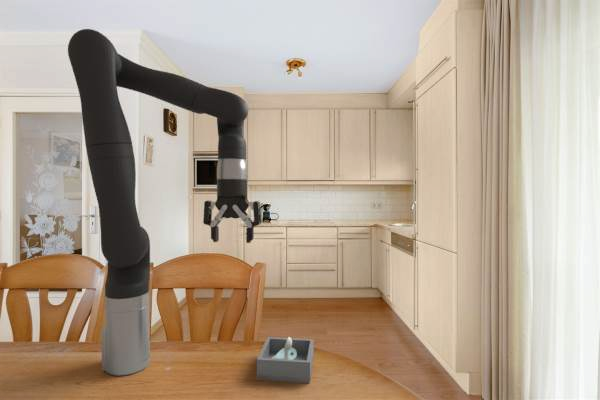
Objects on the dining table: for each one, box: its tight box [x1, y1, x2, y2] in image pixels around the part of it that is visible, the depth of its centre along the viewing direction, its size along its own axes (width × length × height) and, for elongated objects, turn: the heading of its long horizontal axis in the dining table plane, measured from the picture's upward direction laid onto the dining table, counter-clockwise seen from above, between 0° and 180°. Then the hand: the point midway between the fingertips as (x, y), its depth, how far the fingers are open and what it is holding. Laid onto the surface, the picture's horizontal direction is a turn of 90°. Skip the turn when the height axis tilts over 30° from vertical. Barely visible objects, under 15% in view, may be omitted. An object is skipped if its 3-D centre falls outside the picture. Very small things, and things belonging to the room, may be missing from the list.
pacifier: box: [272, 336, 297, 360], centre depth 83 cm, size 7×6×6 cm
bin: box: [256, 336, 315, 384], centre depth 83 cm, size 12×12×4 cm
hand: (232, 242), depth 90 cm, fingers open, 8 cm apart
